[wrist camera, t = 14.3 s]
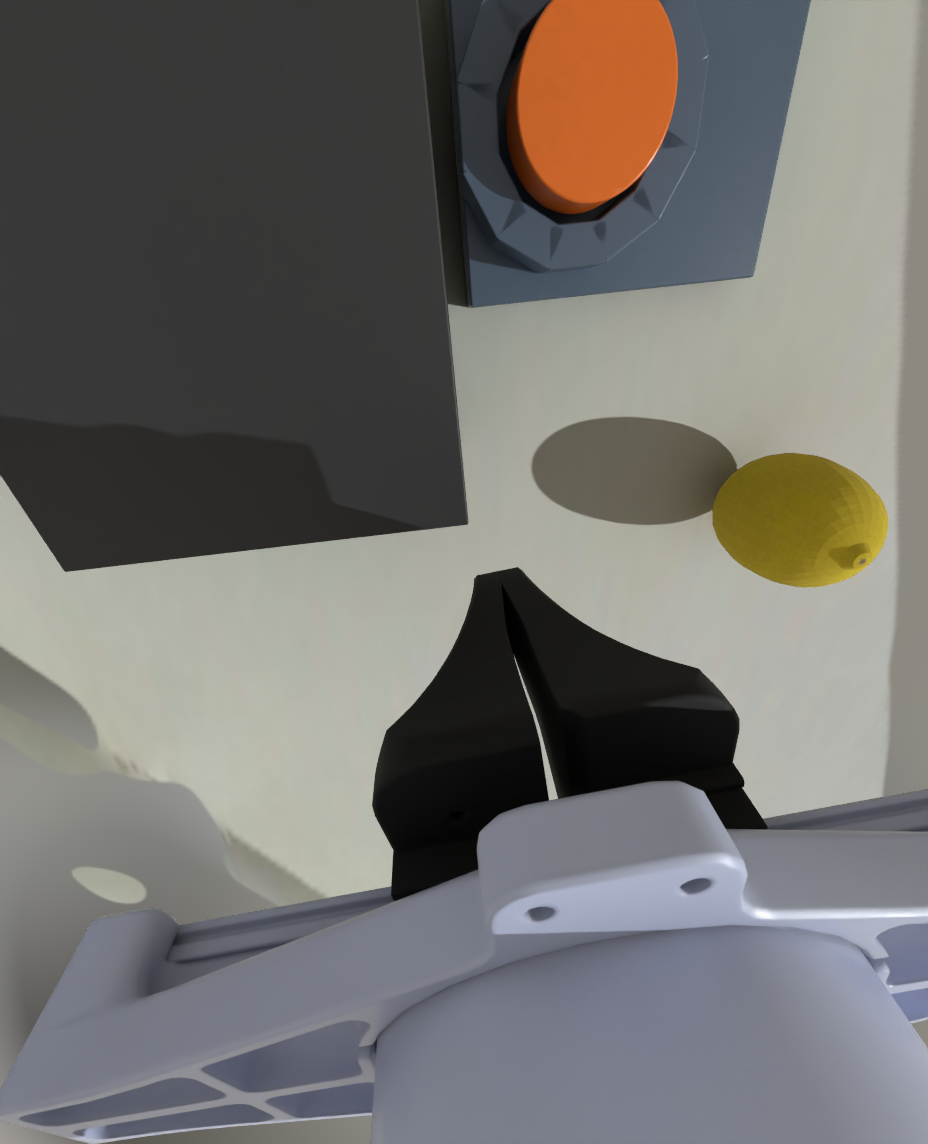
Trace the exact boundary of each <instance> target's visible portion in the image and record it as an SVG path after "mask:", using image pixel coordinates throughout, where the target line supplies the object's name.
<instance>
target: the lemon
mask: <svg viewBox="0 0 928 1144" xmlns="http://www.w3.org/2000/svg"><path fill="white" fill-rule="evenodd" d="M713 526H714V529H715V532H716V535H717V538H718V540H719V542H720V543H721V545H722V546H723V547H724V548H725V550H726V551H727V552H728V553H729V554H730V555H731V556H732V557H733V559H735V560H736V561H737V562H738V563H739V564H741V565H742V566H744V567H745V568H747V569H749V570H751V571H752V572H754V573H756V574H758V575H760V576H762V577H764V578H766V579H769V580H771V581H774V582H777V583H781V584H786V585H790V586H795V587H820V586H826V585H830V584H834V583H837V582H840V581H843V580H845V579H847V578H850V577H852V576H854V575H855V574H857V573H858V572H860V571H862V570H863V569H864V568H865V567H866V566H868V565H869V564H870V563H871V562H872V561H873V559H874V558H875V557H876V556H877V555H878V553H879V552H880V550H881V548H882V547H883V544H884V541H885V538H886V535H887V529H888V516H887V513H886V509H885V506H884V504H883V501H882V499H881V498H880V497H879V495H878V494H877V493H876V492H875V491H874V489H873V488H872V487H871V486H870V485H869V484H868V483H867V482H866V481H865V480H864V479H862V478H861V477H860V476H858V475H857V474H856V473H854V472H853V471H851V470H849V469H847V468H845V467H843V466H841V465H839V464H837V463H835V462H833V461H831V460H828V459H825V458H822V457H818V456H813V455H805V454H796V453H784V454H777V455H770V456H766V457H763V458H760V459H757V460H755V461H752V462H750V463H748V464H746V465H745V466H743V467H741V468H740V469H738V470H737V471H736V472H734V473H733V474H732V475H731V476H730V477H729V478H728V479H727V480H726V481H725V483H724V484H723V485H722V487H721V488H720V490H719V492H718V494H717V496H716V498H715V502H714V506H713Z"/></svg>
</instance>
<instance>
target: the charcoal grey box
mask: <svg viewBox="0 0 928 1144" xmlns="http://www.w3.org/2000/svg"><path fill="white" fill-rule="evenodd" d="M0 475H1V476H2V478H3V479H4V481H5V482H6V484H7V485H8V487H9V488H10V490H11V491H12V493H13V494H14V496H15V497H16V499H17V500H18V502H19V504H20V505H21V507H22V508H23V510H24V511H25V513H26V514H27V516H28V517H29V519H30V520H31V522H32V523H33V525H34V526H35V528H36V529H37V531H38V532H39V534H40V535H41V537H42V538H43V540H44V541H45V543H46V544H47V546H48V547H49V549H50V550H51V552H52V553H53V555H54V556H55V558H56V559H57V561H58V562H59V564H60V565H61V567H62V568H63V570H64V571H65V572H68V571H77V570H85V569H94V568H102V567H111V566H119V565H128V564H136V563H145V562H153V561H162V560H170V559H179V558H187V557H196V556H204V555H213V554H221V553H230V552H238V551H247V550H255V549H264V548H272V547H281V546H289V545H298V544H306V543H315V542H323V541H332V540H340V539H349V538H357V537H366V536H374V535H383V534H391V533H400V532H408V531H417V530H425V529H434V528H442V527H451V526H459V525H467V524H468V513H467V502H466V492H465V481H464V471H463V461H462V450H461V440H460V429H459V419H458V409H457V398H456V388H455V377H454V367H453V356H452V346H451V336H450V325H449V315H448V304H447V294H446V284H445V273H444V263H443V252H442V242H441V231H440V221H439V211H438V200H437V190H436V179H435V169H434V159H433V148H432V138H431V127H430V117H429V106H428V96H427V86H426V75H425V65H424V54H423V44H422V34H421V23H420V13H419V2H418V0H0Z"/></svg>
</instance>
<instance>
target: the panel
mask: <svg viewBox="0 0 928 1144" xmlns="http://www.w3.org/2000/svg"><path fill="white" fill-rule="evenodd" d="M444 1H445V15H446V28H447V41H448V54H449V67H450V81H451V94H452V107H453V109H452V110H453V123H454V136H455V149H456V162H457V176H458V186H459V199H460V213H461V226H462V239H463V252H464V265H465V279H466V292H467V305H468V307H469V308H473V307H482V306H492V305H501V304H510V303H519V302H528V301H538V300H547V299H556V298H565V297H574V296H583V295H593V294H602V293H611V292H620V291H629V290H639V289H648V288H657V287H666V286H675V285H685V284H694V283H703V282H712V281H721V280H731V279H740V278H749V277H752V276H753V275H754V271H755V266H756V261H757V256H758V251H759V247H760V242H761V237H762V232H763V227H764V222H765V218H766V213H767V208H768V203H769V198H770V194H771V189H772V184H773V179H774V174H775V170H776V165H777V160H778V155H779V150H780V146H781V141H782V136H783V131H784V126H785V122H786V117H787V112H788V107H789V102H790V98H791V93H792V88H793V83H794V78H795V73H796V69H797V64H798V59H799V54H800V49H801V45H802V40H803V35H804V30H805V25H806V21H807V16H808V11H809V6H810V1H811V0H659V2H660V3H661V4H662V6H663V8H664V10H665V12H666V14H667V16H668V19H669V22H670V25H671V27H672V30H673V35H674V39H675V43H676V50H677V59H678V81H677V92H676V99H675V105H674V109H673V113H672V117H671V121H670V124H669V127H668V130H667V133H666V135H665V137H664V140H663V142H662V144H661V146H660V148H659V150H658V152H657V153H656V155H655V157H654V159H653V160H652V162H651V163H650V165H649V166H648V167H647V169H646V170H645V171H644V172H643V174H642V175H641V176H640V177H639V178H638V179H637V180H636V181H635V182H634V183H633V184H632V185H631V186H630V187H628V188H627V189H626V190H624V191H623V192H621V193H620V194H618V195H617V196H615V197H613V198H612V199H610V200H608V201H607V202H605V203H603V204H602V205H600V206H598V207H596V208H594V209H592V210H589V211H586V212H583V213H578V214H564V213H558V212H555V211H552V210H549V209H548V208H546V207H544V206H542V205H541V204H540V203H538V202H537V201H536V200H534V198H533V197H532V196H531V195H530V194H529V193H528V192H527V191H526V189H525V188H524V187H523V185H522V183H521V182H520V180H519V178H518V176H517V174H516V172H515V169H514V167H513V164H512V161H511V157H510V154H509V148H508V143H507V132H506V114H507V104H508V98H509V93H510V88H511V85H512V81H513V78H514V75H515V72H516V69H517V67H518V64H519V61H520V59H521V56H522V53H523V51H524V48H525V46H526V43H527V41H528V38H529V36H530V34H531V31H532V29H533V27H534V25H535V24H536V22H537V20H538V18H539V16H540V15H541V14H542V12H543V11H544V9H545V8H546V6H547V5H548V4H549V3H550V1H551V0H444Z"/></svg>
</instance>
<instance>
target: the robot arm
mask: <svg viewBox="0 0 928 1144" xmlns="http://www.w3.org/2000/svg"><path fill="white" fill-rule="evenodd" d="M514 656H515V659H516V662H517V664H518V667H519V670H520V673H521V675H522V678H523V681H524V683H525V686H526V689H527V692H528V694H529V697H530V700H531V703H532V705H533V708H534V711H535V713H536V716H537V720H538V723H539V726H540V729H541V733H542V737H543V741H544V745H545V749H546V753H547V756H548V760H549V764H550V768H551V772H552V776H553V780H554V784H555V788H556V792H557V796H558V799H555V800H550V801H549V797H548V791H547V785H546V778H545V772H544V765H543V759H542V752H541V746H540V741H539V737H538V733H537V729H536V725H535V722H534V718H533V715H532V712H531V709H530V706H529V703H528V700H527V697H526V694H525V691H524V688H523V685H522V682H521V679H520V676H519V672H518V669H517V666H516V663H515V659H514ZM738 734H739V717H738V715H737V713H736V711H735V709H734V708H733V706H732V705H731V704H730V703H729V701H728V700H727V699H726V697H725V696H724V695H723V694H722V693H721V691H720V690H719V689H718V688H717V687H716V686H715V685H714V684H713V683H712V682H711V681H710V680H709V679H708V678H707V677H706V676H705V675H704V674H703V673H702V672H701V671H700V669H698V668H694V667H691V666H687V665H683V664H680V663H676V662H673V661H669V660H666V659H662V658H659V657H656V656H653V655H651V654H648V653H645V652H642V651H640V650H637V649H634V648H632V647H630V646H627V645H625V644H622V643H620V642H618V641H616V640H614V639H612V638H610V637H608V636H605V635H603V634H602V633H600V632H598V631H596V630H594V629H592V628H591V627H589V626H587V625H586V624H584V623H583V622H581V621H579V620H578V619H577V618H575V617H574V616H572V615H571V614H569V613H568V612H567V611H565V610H564V609H563V608H561V607H560V606H559V605H558V604H556V603H555V602H554V601H553V600H552V599H550V598H549V597H548V596H547V595H546V594H545V593H543V592H542V591H541V590H540V589H539V588H538V587H537V586H536V585H535V584H534V583H533V582H532V581H531V580H530V579H529V578H528V577H527V576H526V575H525V573H524V572H523V571H522V570H521V569H519V568H518V567H517V568H512V569H507V570H502V571H497V572H492V573H487V574H482V575H477V576H476V578H475V579H474V589H473V594H472V598H471V602H470V606H469V609H468V612H467V615H466V618H465V621H464V623H463V626H462V628H461V631H460V633H459V636H458V638H457V640H456V642H455V644H454V646H453V648H452V650H451V652H450V654H449V655H448V657H447V659H446V661H445V662H444V664H443V665H442V667H441V669H440V670H439V672H438V673H437V675H436V676H435V678H434V679H433V681H432V682H431V683H430V685H429V686H428V687H427V688H426V690H425V691H424V692H423V693H422V694H421V696H420V697H419V698H418V699H417V701H416V702H415V703H414V704H413V705H412V706H411V708H409V709H408V710H407V711H406V712H405V713H404V714H403V715H402V716H401V717H400V718H399V719H398V720H397V721H396V722H395V723H394V724H393V725H392V726H391V727H390V728H389V729H388V730H387V731H386V734H385V737H384V740H383V743H382V747H381V751H380V755H379V759H378V763H377V767H376V773H375V782H374V792H373V803H372V807H373V810H374V813H375V817H376V818H377V820H378V822H379V824H380V826H381V828H382V830H383V832H384V833H385V835H386V837H387V839H388V841H389V843H390V845H391V846H392V848H393V850H394V851H393V868H392V886H391V887H386V888H380V889H375V890H369V891H364V892H358V893H353V894H347V895H342V896H336V897H331V898H325V899H320V900H314V901H309V902H303V903H298V904H292V905H287V906H281V907H276V908H271V909H265V910H259V911H254V912H248V913H243V914H238V915H232V916H226V917H221V918H215V919H210V920H205V921H199V922H194V923H188V924H182V925H179V924H178V922H177V921H176V920H175V918H174V917H173V916H172V915H170V914H169V913H167V912H165V911H163V910H160V909H154V908H150V909H140V910H134V911H129V912H124V913H119V914H113V915H107V916H102V917H98V918H96V919H94V920H92V922H91V924H90V925H89V928H88V929H87V931H86V933H85V935H84V936H83V939H82V940H81V942H80V944H79V946H78V947H77V949H76V951H75V953H74V955H73V957H72V959H71V960H70V962H69V964H68V966H67V968H66V969H65V971H64V973H63V975H62V977H61V979H60V981H59V982H58V984H57V986H56V988H55V990H54V991H53V993H52V995H51V997H50V999H49V1001H48V1002H47V1004H46V1006H45V1008H44V1010H43V1012H42V1013H41V1015H40V1017H39V1019H38V1021H37V1023H36V1024H35V1026H34V1028H33V1030H32V1032H31V1034H30V1035H29V1037H28V1039H27V1041H26V1043H25V1044H24V1046H23V1048H22V1050H21V1052H20V1054H19V1055H18V1057H17V1059H16V1061H15V1063H14V1065H13V1066H12V1068H11V1070H10V1072H9V1074H8V1076H7V1077H6V1079H5V1081H4V1083H3V1085H2V1086H1V1088H0V1121H3V1122H7V1123H11V1124H15V1125H19V1126H23V1127H26V1128H30V1129H34V1130H38V1131H42V1132H47V1133H50V1134H54V1135H58V1136H62V1137H66V1138H70V1139H74V1140H78V1141H82V1142H86V1143H90V1144H97V1143H104V1142H110V1141H116V1140H123V1139H130V1138H137V1137H143V1136H151V1135H159V1134H167V1133H175V1132H183V1131H192V1130H202V1129H212V1128H223V1127H233V1126H245V1125H257V1124H269V1123H281V1122H293V1121H304V1120H317V1119H328V1118H341V1117H353V1116H365V1115H372V1122H371V1137H370V1144H928V1048H927V1047H926V1045H925V1044H924V1043H923V1041H922V1040H921V1038H920V1037H919V1035H918V1034H917V1032H916V1031H915V1029H914V1028H913V1026H912V1025H911V1023H914V1022H919V1021H923V1020H927V1019H928V789H924V790H919V791H914V792H908V793H902V794H897V795H891V796H886V797H880V798H875V799H869V800H864V801H858V802H853V803H847V804H842V805H836V806H831V807H825V808H820V809H814V810H809V811H803V812H798V813H792V814H787V815H781V816H776V817H770V818H765V819H762V817H761V816H760V814H759V813H758V811H757V810H756V808H755V807H754V805H753V804H752V802H751V801H750V799H749V798H748V796H747V795H746V793H745V792H744V790H743V789H742V787H744V779H743V777H742V775H741V774H740V773H739V771H738V770H737V768H736V767H735V765H734V764H733V758H734V753H735V749H736V744H737V739H738Z"/></svg>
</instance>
